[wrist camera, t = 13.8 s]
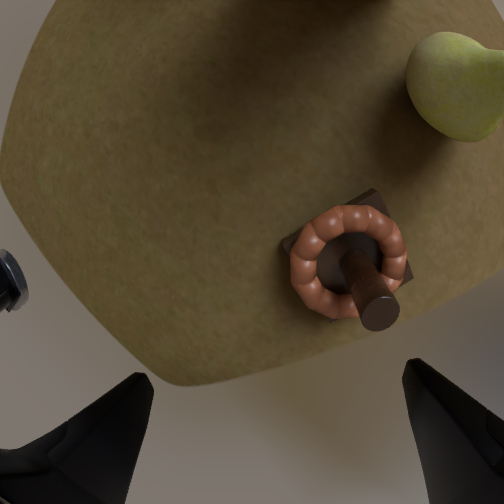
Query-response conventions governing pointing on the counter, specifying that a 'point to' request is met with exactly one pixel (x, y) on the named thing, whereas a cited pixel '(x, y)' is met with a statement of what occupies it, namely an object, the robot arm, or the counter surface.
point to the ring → (328, 229)
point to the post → (358, 270)
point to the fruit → (457, 85)
